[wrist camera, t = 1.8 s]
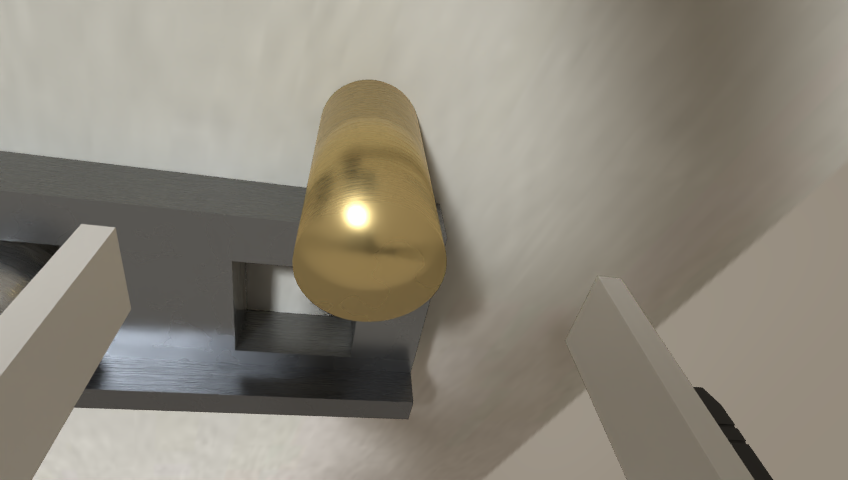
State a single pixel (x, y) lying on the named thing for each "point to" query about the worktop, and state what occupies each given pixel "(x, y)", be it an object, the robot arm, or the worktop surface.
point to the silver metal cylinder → (20, 267)
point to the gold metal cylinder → (369, 210)
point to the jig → (209, 295)
